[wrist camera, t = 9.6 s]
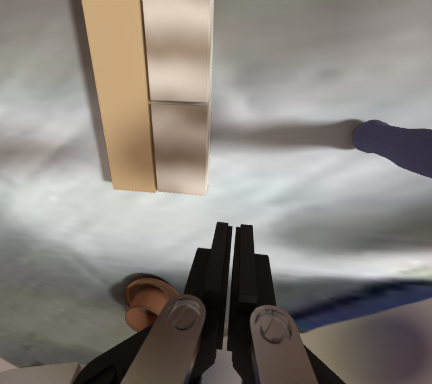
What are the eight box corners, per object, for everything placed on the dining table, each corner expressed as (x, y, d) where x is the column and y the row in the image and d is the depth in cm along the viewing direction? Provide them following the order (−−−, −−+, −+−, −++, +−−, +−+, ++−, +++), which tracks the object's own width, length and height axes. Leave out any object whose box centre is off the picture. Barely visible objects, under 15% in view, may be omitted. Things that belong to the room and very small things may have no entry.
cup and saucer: (181, 318, 47) (173, 348, 42) (129, 307, 48) (114, 335, 42) (186, 278, 43) (177, 306, 37) (128, 267, 43) (110, 292, 38)
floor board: (97, -16, 25) (75, -33, 22) (214, -17, 24) (209, -35, 21) (125, 182, 35) (113, 190, 32) (209, 188, 34) (205, 198, 31)
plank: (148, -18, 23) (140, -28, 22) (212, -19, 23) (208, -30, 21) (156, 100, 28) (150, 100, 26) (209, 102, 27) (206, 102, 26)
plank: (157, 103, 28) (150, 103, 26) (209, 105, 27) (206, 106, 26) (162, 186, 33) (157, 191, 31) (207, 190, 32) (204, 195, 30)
